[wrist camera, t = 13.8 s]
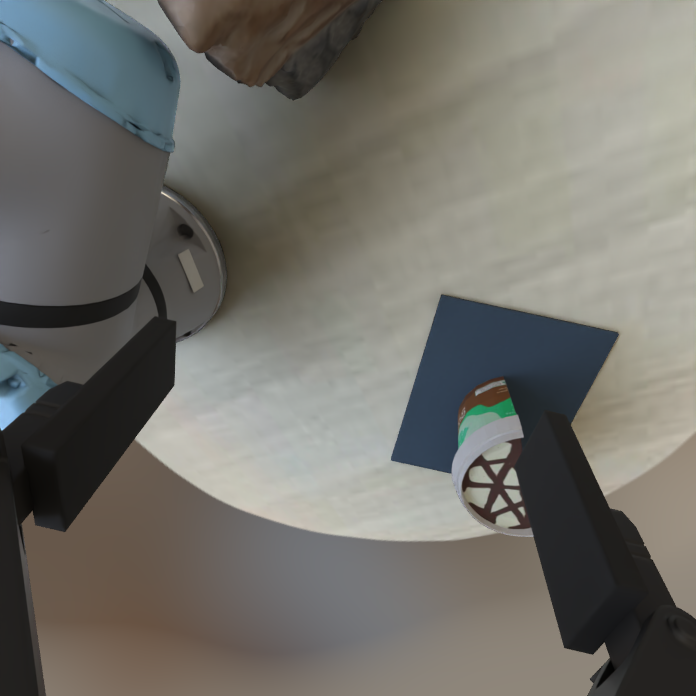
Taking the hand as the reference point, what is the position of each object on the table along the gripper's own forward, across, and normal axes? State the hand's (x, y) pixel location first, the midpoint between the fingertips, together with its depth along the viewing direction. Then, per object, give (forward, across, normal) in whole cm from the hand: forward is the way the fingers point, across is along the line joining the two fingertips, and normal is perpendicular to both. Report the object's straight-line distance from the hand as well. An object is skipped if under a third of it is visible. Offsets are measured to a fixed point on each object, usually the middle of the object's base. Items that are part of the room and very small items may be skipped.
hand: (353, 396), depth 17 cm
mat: (+26, +15, -16) cm, 34 cm away
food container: (+26, +14, -18) cm, 35 cm away
